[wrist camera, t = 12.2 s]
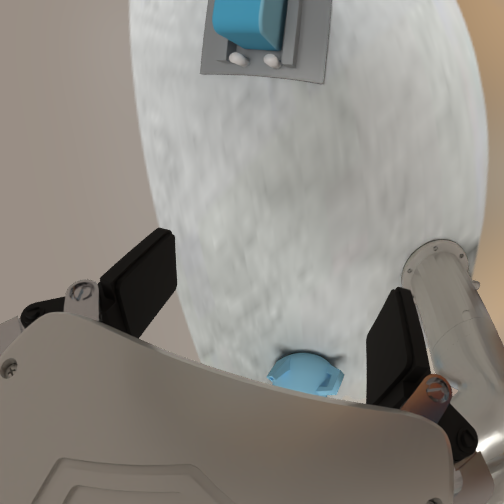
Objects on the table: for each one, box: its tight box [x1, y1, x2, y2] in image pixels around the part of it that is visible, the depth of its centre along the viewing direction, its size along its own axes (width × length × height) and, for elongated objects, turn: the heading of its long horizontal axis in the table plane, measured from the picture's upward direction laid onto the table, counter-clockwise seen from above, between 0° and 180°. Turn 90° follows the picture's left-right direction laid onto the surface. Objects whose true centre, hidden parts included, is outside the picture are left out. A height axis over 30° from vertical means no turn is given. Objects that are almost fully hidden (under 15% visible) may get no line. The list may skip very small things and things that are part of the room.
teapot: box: [267, 353, 344, 397], centre depth 52 cm, size 15×15×11 cm
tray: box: [200, 0, 332, 84], centre depth 22 cm, size 16×19×5 cm
